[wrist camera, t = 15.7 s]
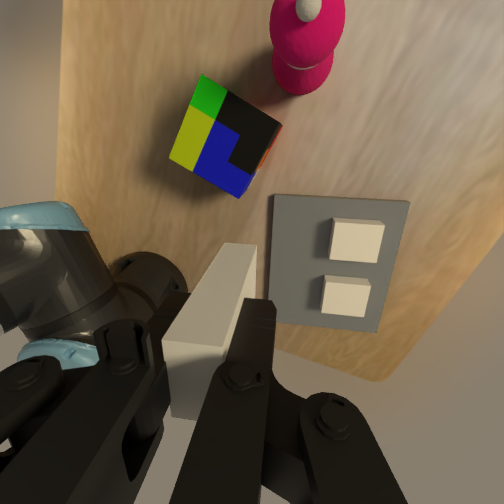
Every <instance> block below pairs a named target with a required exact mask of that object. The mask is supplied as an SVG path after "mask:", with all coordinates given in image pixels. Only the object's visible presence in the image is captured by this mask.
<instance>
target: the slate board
mask: <svg viewBox="0 0 504 504" xmlns="http://www.w3.org/2000/svg"><path fill="white" fill-rule="evenodd" d="M409 206H410V202H409V201H404V200H385V199H367V198H348V197H330V196H311V195H293V194H275V196H274V213H273V229H272V246H271V263H270V279H269V296H268V300H272V301H273V303H274V305H275V307H276V309H277V316H276V322H280V323H289V324H298V325H307V326H316V327H326V328H335V329H344V330H353V331H362V332H371V333H377V329H378V325H379V322H380V318H381V314H382V310H383V306H384V302H385V298H386V295H387V291H388V287H389V283H390V279H391V275H392V271H393V268H394V264H395V260H396V256H397V252H398V248H399V244H400V241H401V237H402V233H403V229H404V225H405V221H406V217H407V214H408V210H409ZM333 218H346V219H361V220H377V221H381V222H382V223H383V224H384V225H385V228H384V232H383V237H382V241H381V245H380V250H379V254H378V258H377V263H369V262H357V261H344V260H332V259H329V256H328V248H329V241H330V234H331V228H332V221H333ZM324 275H332V276H343V277H355V278H366V279H368V281H369V283H370V285H371V289H370V293H369V297H368V302H367V306H366V310H365V315H364V317H357V316H347V315H338V314H328V313H321V308H320V301H321V294H322V288H323V281H324Z"/></svg>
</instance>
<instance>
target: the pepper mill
mask: <svg viewBox="0 0 504 504" xmlns="http://www.w3.org/2000/svg"><path fill="white" fill-rule="evenodd" d="M344 23H345V4H344V0H275V1H274V3H273V6H272V10H271V15H270V37H271V41H272V44H273V46H274V50H273V56H272V68H273V73H274V76H275V78H276V80H277V82H278V84H279V85H280V86H281V87H282V88H283V89H284V90H286V91H287V92H289V93H291V94H295V95H304V94H308V93H311V92H313V91H314V90H316V89H317V88H319V87H320V86H321V85H322V84H323V82H324V81H325V80H326V78H327V77H328V75H329V73H330V70H331V67H332V63H333V56H334V49H335V47H336V46H337V44H338V42H339V40H340V37H341V35H342V32H343V28H344Z"/></svg>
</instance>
